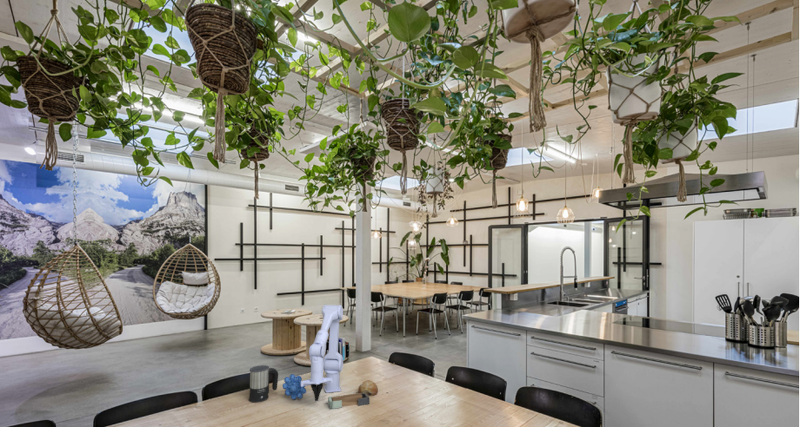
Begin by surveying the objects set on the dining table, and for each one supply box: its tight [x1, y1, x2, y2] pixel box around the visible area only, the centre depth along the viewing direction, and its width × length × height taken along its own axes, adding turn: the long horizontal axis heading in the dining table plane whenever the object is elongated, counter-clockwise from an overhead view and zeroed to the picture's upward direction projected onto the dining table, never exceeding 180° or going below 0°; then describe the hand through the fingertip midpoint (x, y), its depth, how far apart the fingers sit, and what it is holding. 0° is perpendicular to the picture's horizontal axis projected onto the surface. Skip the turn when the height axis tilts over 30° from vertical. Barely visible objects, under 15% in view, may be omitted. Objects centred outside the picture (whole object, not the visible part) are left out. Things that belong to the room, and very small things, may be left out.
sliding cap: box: [327, 395, 343, 410], centre depth 175 cm, size 7×5×3 cm
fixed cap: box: [357, 393, 370, 407], centre depth 179 cm, size 7×5×3 cm
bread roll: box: [357, 380, 379, 397], centre depth 191 cm, size 10×10×8 cm
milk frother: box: [248, 364, 279, 403], centre depth 187 cm, size 14×16×15 cm
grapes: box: [282, 373, 307, 400], centre depth 182 cm, size 12×7×12 cm, turn 95°
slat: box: [331, 392, 362, 408], centre depth 177 cm, size 4×14×4 cm, turn 112°
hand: (316, 400), depth 174 cm, fingers closed
